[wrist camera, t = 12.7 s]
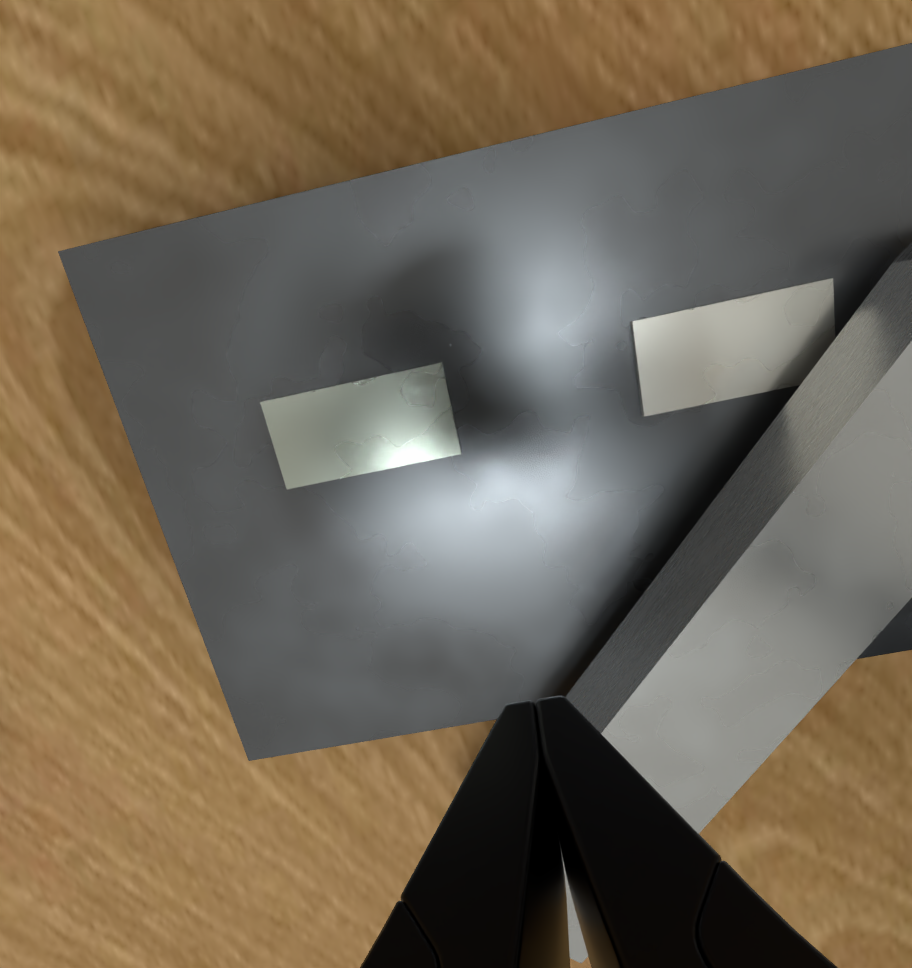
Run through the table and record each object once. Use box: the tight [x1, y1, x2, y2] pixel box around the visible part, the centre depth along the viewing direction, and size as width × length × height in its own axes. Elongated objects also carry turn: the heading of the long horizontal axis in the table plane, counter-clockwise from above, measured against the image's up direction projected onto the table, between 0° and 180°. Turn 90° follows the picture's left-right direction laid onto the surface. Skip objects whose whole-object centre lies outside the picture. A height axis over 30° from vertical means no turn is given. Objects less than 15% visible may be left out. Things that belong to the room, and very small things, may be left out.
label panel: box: [58, 43, 912, 761], centre depth 17 cm, size 23×16×1 cm
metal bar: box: [561, 243, 912, 963], centre depth 15 cm, size 22×4×3 cm, turn 150°
